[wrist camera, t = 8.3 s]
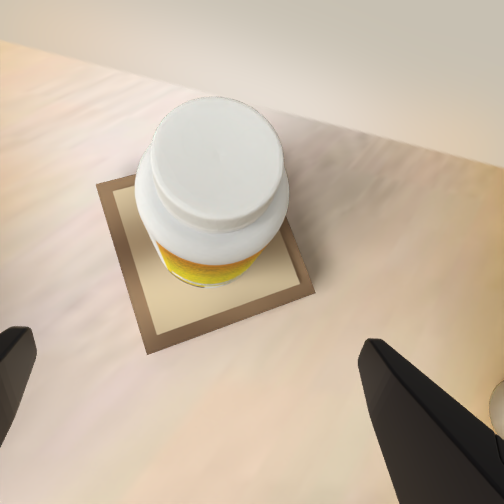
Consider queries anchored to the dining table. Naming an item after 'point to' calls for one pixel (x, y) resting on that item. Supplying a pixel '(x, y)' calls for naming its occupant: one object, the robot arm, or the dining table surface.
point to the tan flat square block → (189, 297)
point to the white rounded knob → (497, 409)
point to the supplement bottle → (212, 190)
